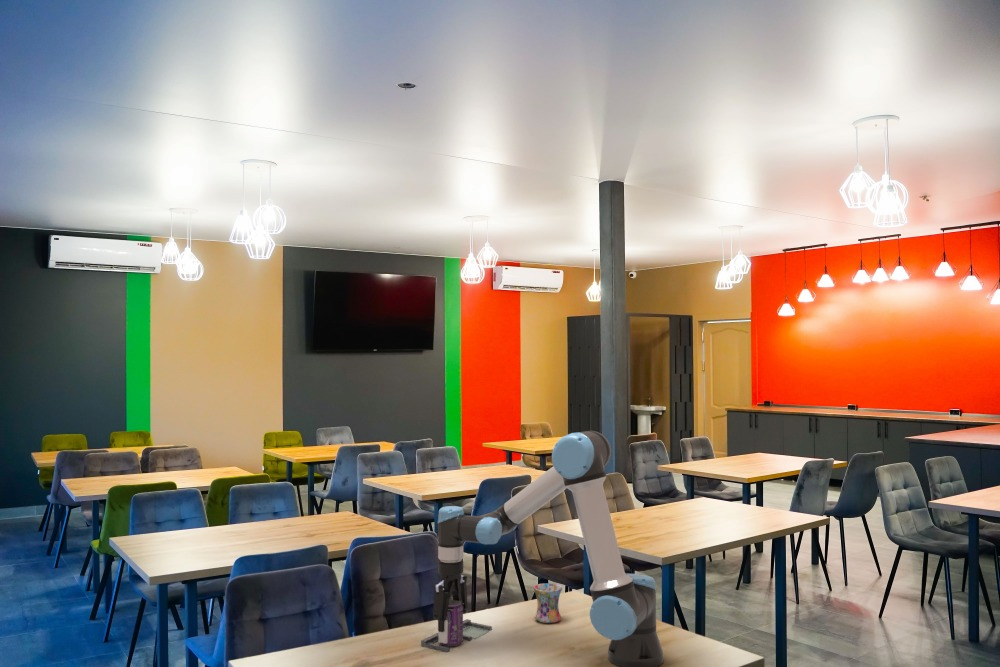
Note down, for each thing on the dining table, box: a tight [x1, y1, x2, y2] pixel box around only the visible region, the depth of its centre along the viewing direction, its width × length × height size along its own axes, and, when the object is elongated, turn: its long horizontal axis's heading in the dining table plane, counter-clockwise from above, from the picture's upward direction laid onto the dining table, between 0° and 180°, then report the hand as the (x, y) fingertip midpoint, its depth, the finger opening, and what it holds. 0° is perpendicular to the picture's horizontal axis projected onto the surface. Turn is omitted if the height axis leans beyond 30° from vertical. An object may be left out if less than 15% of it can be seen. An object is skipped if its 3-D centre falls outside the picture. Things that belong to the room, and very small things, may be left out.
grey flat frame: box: [420, 619, 493, 653], centre depth 231 cm, size 10×23×2 cm, turn 147°
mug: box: [533, 582, 563, 624], centre depth 248 cm, size 12×9×11 cm
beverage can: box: [438, 599, 464, 647], centre depth 226 cm, size 7×7×12 cm
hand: (450, 638), depth 225 cm, fingers closed on beverage can, 7 cm apart
